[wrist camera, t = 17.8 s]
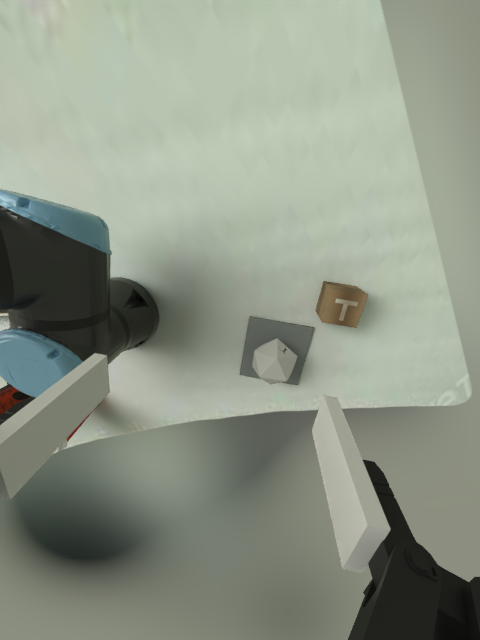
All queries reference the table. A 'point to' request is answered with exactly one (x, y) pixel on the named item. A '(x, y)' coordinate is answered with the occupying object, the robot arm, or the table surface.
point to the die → (274, 361)
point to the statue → (10, 397)
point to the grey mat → (268, 331)
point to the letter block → (340, 304)
